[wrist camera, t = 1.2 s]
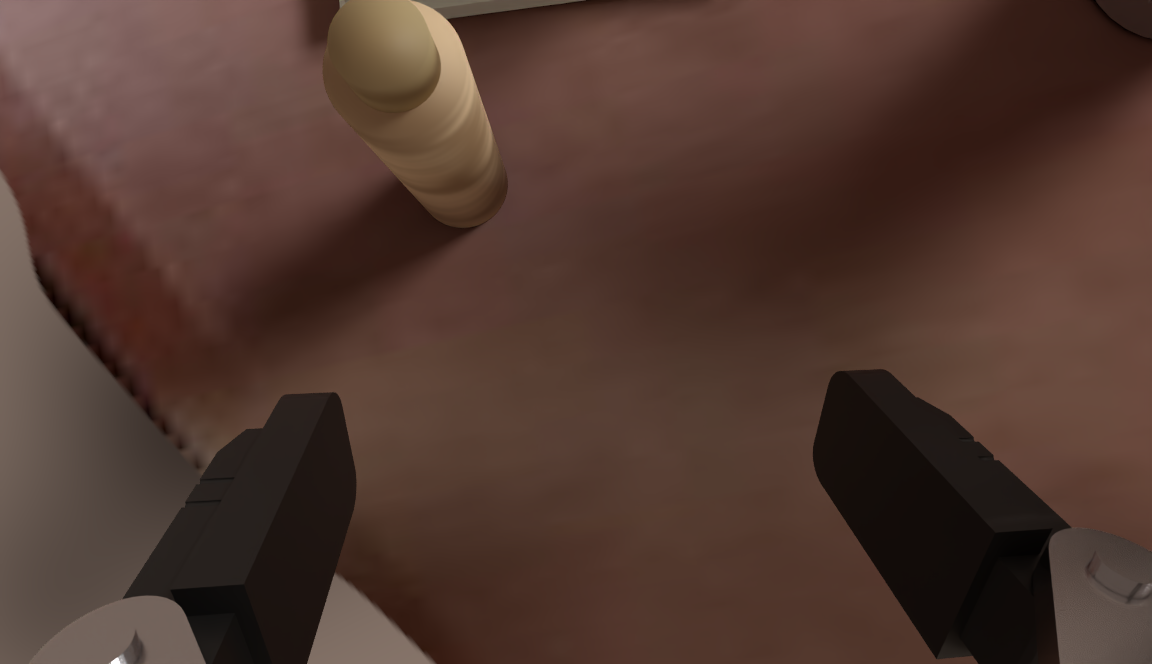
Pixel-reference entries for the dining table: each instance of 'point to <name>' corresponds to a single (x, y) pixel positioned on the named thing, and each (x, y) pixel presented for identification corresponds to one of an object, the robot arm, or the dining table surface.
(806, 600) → the dining table surface
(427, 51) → the pepper mill
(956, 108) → the dining table surface
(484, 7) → the stand
